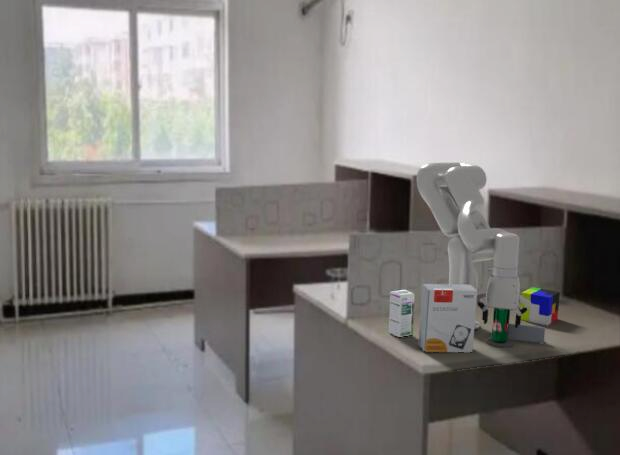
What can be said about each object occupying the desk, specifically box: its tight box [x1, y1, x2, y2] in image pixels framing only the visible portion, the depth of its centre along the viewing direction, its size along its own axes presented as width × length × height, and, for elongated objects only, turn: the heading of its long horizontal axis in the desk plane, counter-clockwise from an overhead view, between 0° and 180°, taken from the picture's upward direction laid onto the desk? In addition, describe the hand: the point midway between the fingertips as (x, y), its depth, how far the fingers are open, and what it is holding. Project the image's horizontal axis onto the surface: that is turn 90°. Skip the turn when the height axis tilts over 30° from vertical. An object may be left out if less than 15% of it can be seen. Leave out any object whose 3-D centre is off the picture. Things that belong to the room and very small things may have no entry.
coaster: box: [486, 337, 514, 348], centre depth 241 cm, size 8×8×1 cm
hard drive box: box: [418, 283, 478, 353], centre depth 233 cm, size 16×8×20 cm, turn 96°
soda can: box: [490, 308, 511, 343], centre depth 240 cm, size 5×5×12 cm
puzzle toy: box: [520, 286, 561, 326], centre depth 268 cm, size 10×10×10 cm
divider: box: [508, 322, 546, 345], centre depth 245 cm, size 16×4×5 cm, turn 68°
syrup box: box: [388, 289, 415, 337], centre depth 246 cm, size 6×6×14 cm
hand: (501, 324), depth 240 cm, fingers open, 9 cm apart
